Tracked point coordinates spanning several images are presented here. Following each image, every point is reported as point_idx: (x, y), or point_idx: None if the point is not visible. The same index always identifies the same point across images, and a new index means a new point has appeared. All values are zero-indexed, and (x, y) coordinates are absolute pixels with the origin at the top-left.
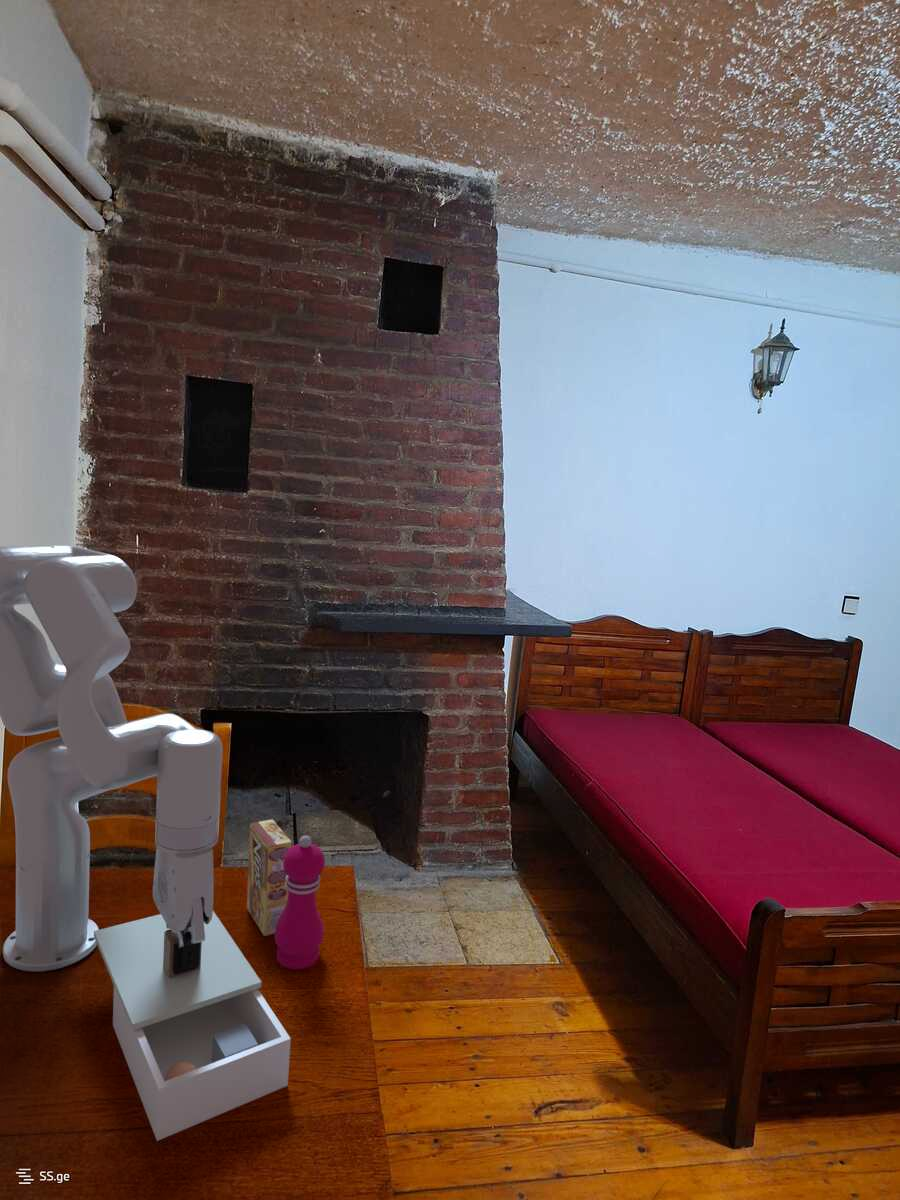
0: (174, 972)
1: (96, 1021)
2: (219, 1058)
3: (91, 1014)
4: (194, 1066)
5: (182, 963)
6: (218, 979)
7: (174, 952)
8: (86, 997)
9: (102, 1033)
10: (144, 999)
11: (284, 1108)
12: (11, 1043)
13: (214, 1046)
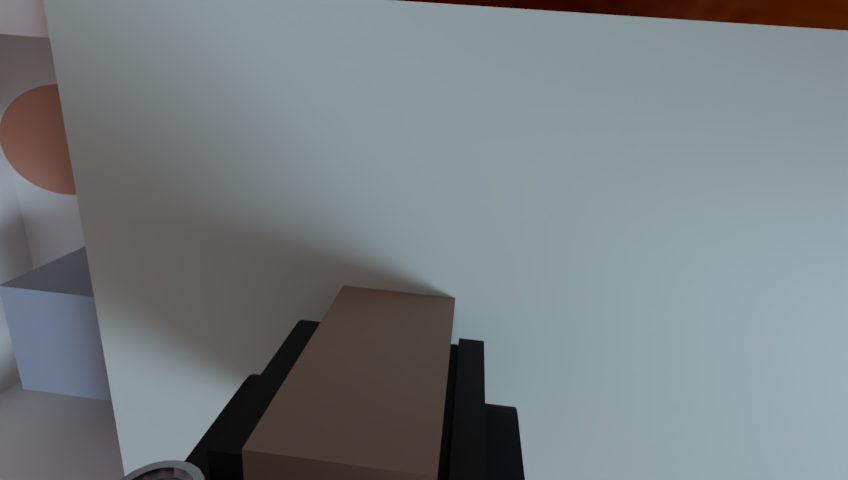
0: (297, 325)
1: (625, 8)
2: (82, 273)
3: (681, 2)
4: (62, 192)
5: (237, 393)
6: None
7: (241, 409)
8: (803, 14)
9: (543, 9)
10: (229, 112)
11: None
12: None
13: None
